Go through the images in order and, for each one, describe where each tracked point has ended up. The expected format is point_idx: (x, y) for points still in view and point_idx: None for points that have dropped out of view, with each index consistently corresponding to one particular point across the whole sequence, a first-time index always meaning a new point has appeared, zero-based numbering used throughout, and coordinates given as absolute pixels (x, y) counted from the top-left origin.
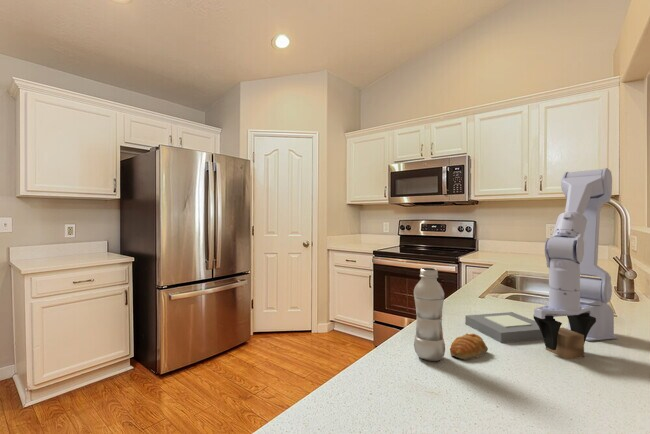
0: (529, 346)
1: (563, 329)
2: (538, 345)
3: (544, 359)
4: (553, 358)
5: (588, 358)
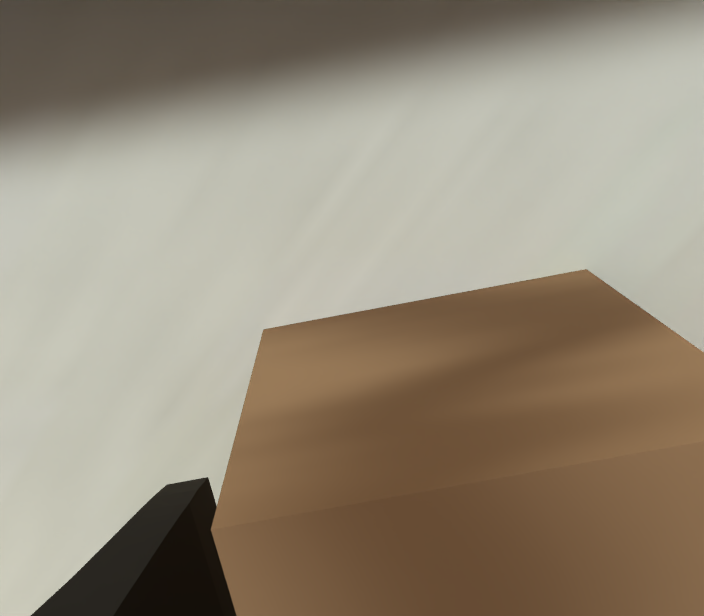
0: (72, 213)
1: (671, 556)
2: (252, 174)
3: None
4: None
5: None
